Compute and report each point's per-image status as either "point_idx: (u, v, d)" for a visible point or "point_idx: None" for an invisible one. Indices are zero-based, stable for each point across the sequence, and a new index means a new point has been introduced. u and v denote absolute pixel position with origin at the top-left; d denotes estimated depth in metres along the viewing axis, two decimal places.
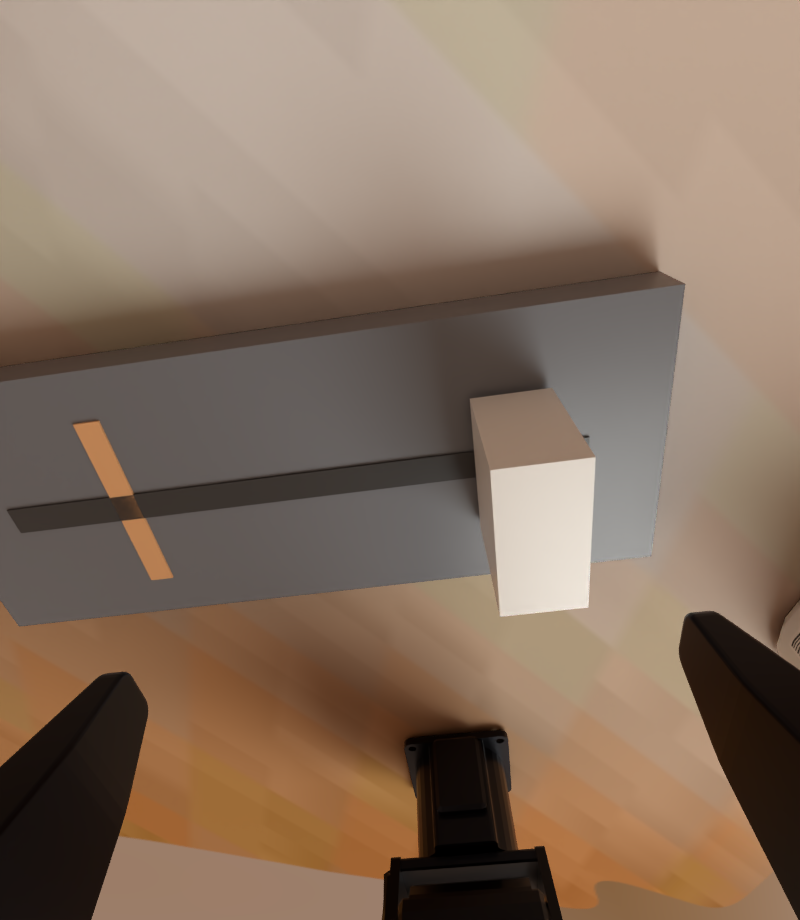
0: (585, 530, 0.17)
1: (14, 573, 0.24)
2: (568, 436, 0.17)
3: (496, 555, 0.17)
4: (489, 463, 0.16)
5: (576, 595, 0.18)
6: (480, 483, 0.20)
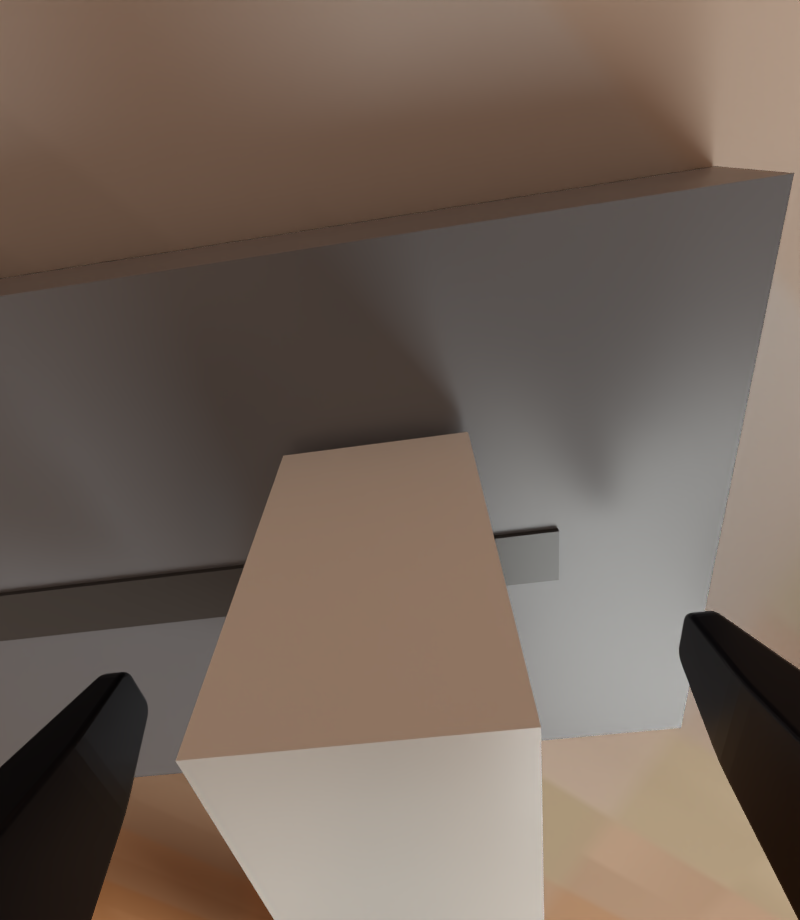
0: (523, 882, 0.06)
1: None
2: (469, 603, 0.05)
3: None
4: (195, 716, 0.05)
5: None
6: None
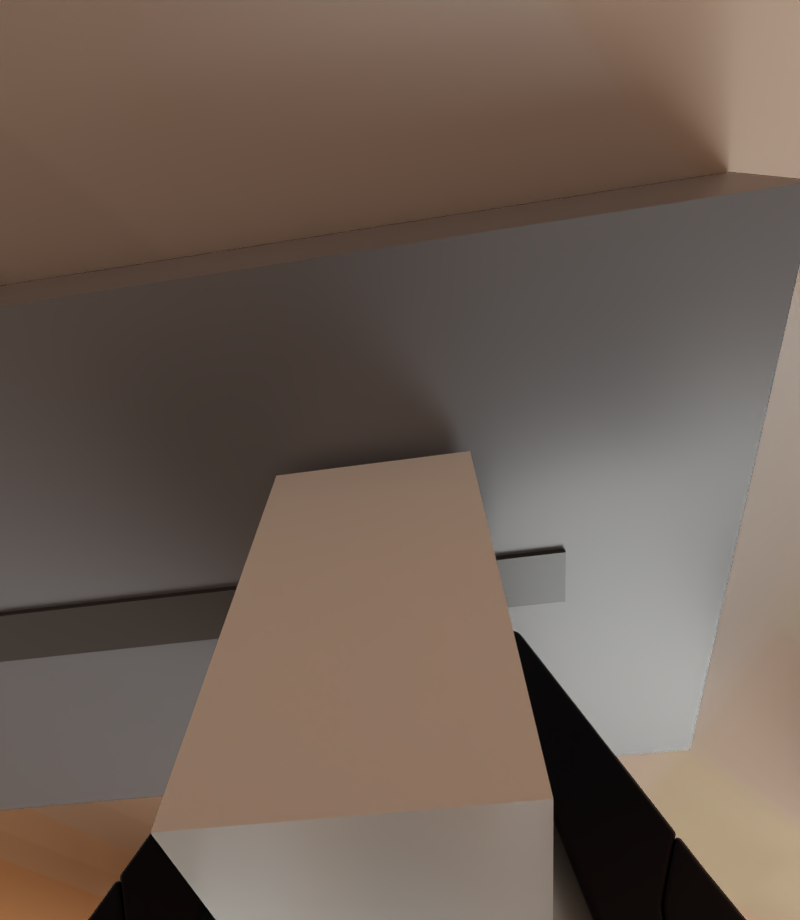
0: None
1: None
2: (472, 649, 0.05)
3: None
4: (173, 778, 0.04)
5: None
6: None
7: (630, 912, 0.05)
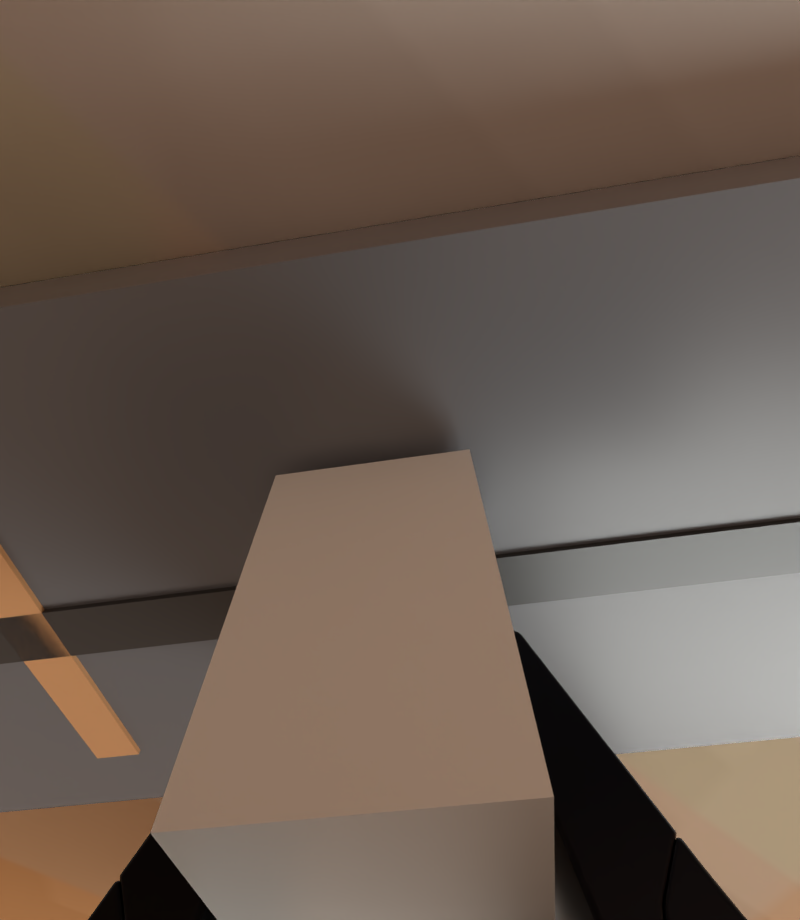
0: None
1: None
2: (472, 647, 0.05)
3: None
4: (173, 778, 0.04)
5: None
6: None
7: (631, 912, 0.05)
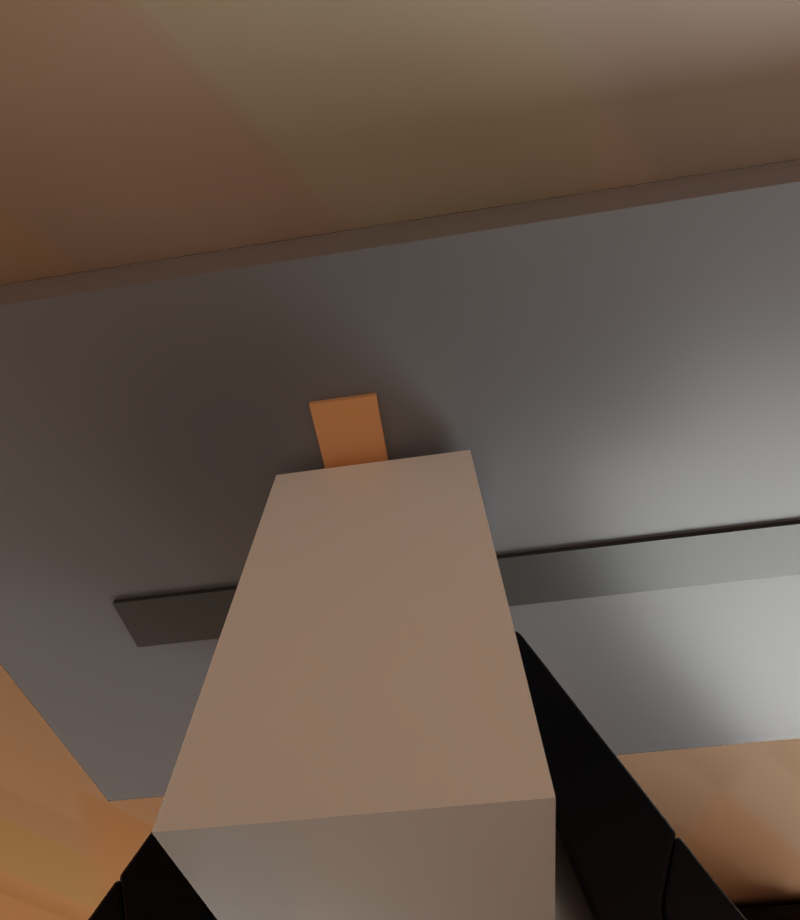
0: None
1: (111, 717, 0.12)
2: (473, 647, 0.05)
3: None
4: (174, 776, 0.04)
5: None
6: None
7: (630, 912, 0.05)
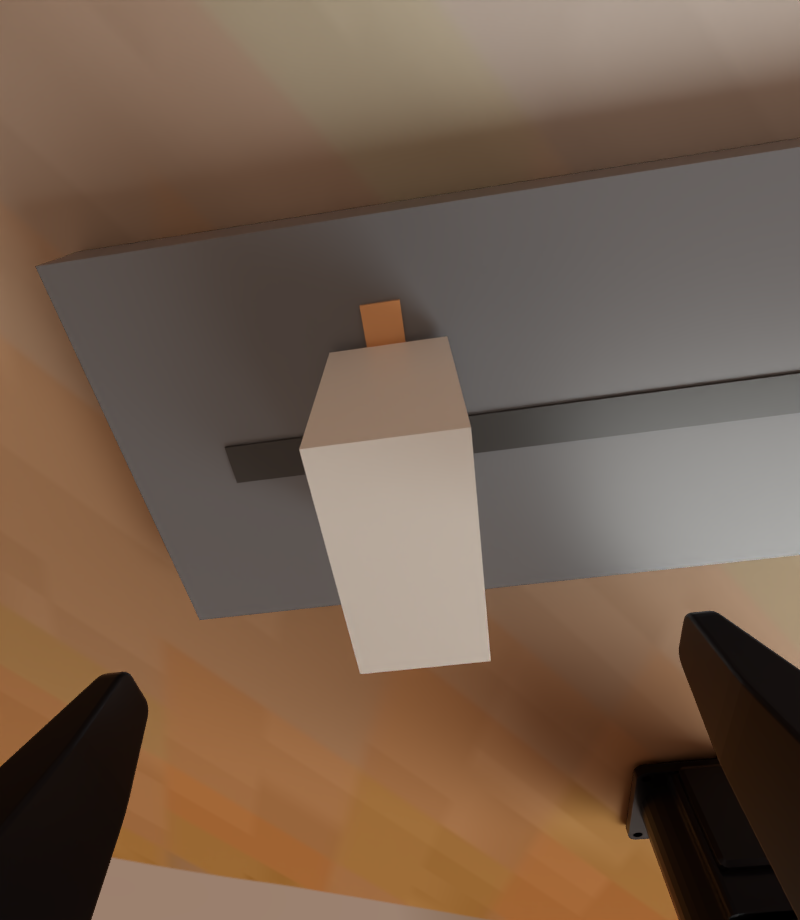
0: (470, 547, 0.11)
1: (211, 543, 0.17)
2: (441, 397, 0.10)
3: (337, 585, 0.11)
4: (304, 438, 0.10)
5: (470, 644, 0.12)
6: None
7: None
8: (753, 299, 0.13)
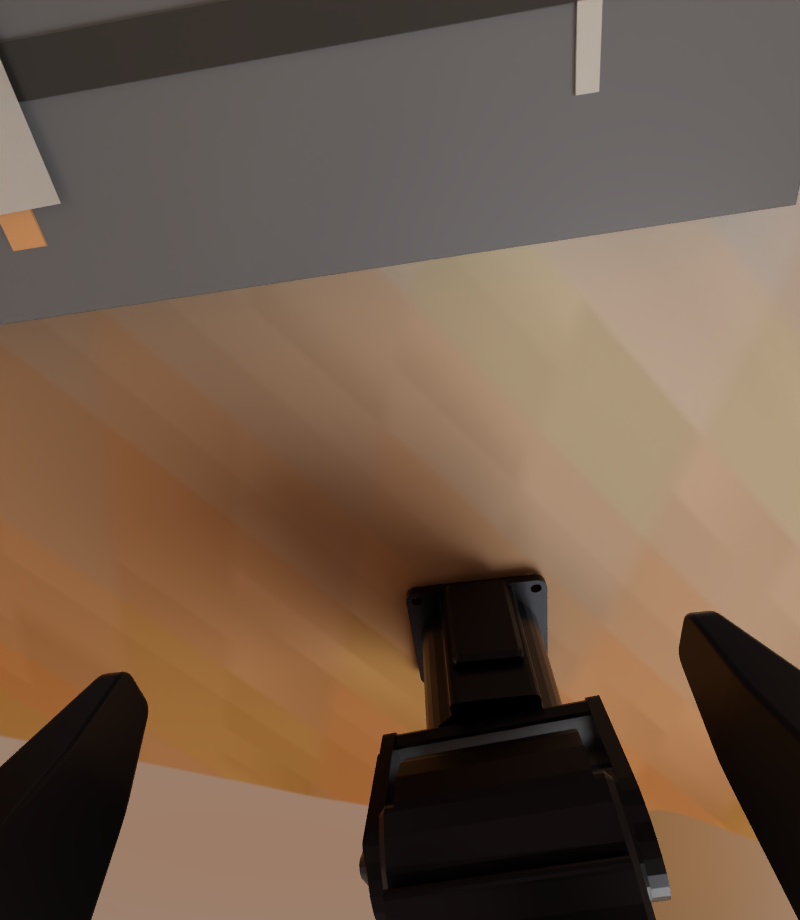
0: None
1: None
2: None
3: None
4: None
5: None
6: None
7: None
8: None
